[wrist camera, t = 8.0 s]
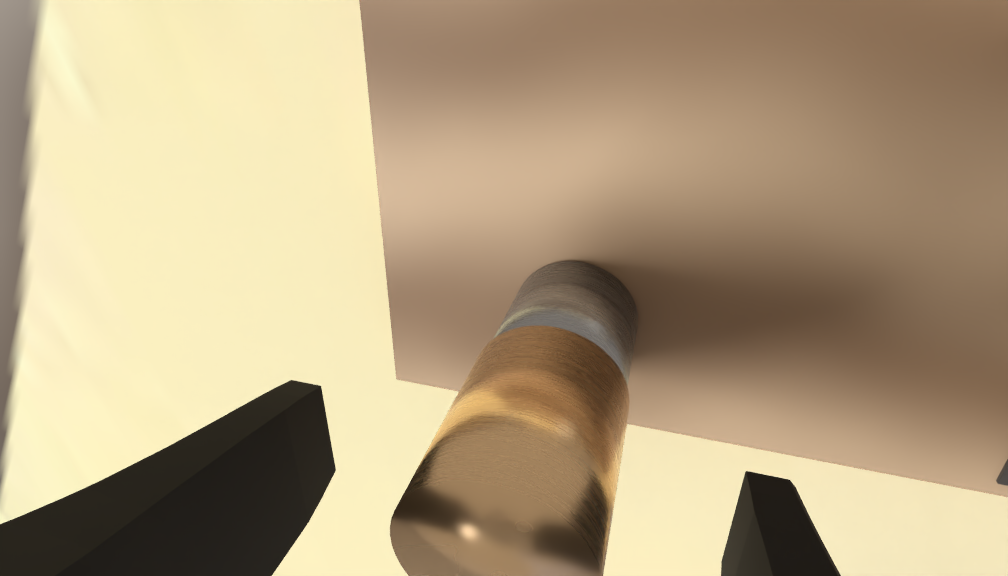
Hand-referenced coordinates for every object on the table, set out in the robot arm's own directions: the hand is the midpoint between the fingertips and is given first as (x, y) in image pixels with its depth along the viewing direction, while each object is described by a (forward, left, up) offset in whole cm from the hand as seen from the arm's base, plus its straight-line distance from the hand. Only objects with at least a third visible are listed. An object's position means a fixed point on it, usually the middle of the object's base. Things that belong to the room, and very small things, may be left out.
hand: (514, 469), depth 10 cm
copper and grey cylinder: (0, 0, -5) cm, 5 cm away
